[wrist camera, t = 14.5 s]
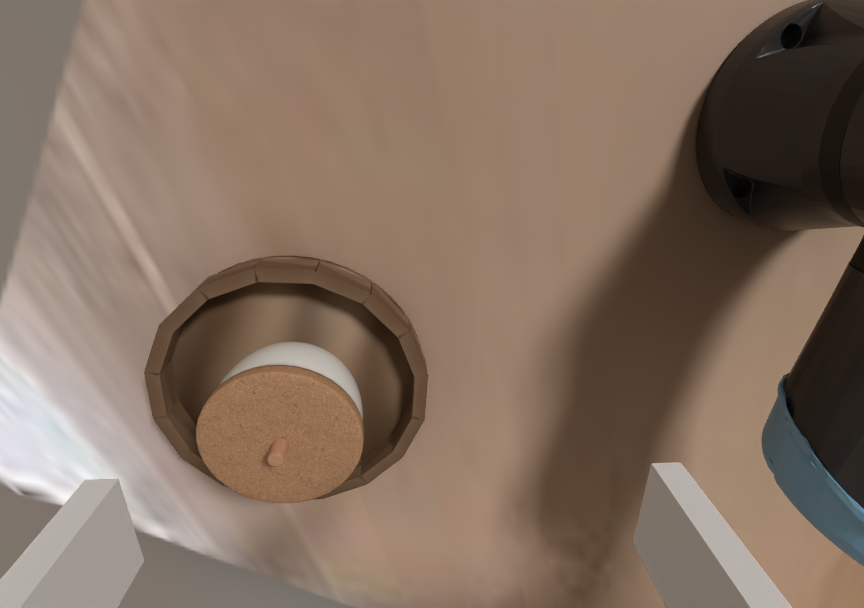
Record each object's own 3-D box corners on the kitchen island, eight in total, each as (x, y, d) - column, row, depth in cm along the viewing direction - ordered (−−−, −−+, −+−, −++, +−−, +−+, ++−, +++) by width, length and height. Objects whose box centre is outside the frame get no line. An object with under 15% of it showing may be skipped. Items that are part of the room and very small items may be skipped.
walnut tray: (432, 261, 36) (435, 274, 33) (416, 472, 44) (418, 497, 41) (144, 249, 34) (123, 263, 31) (183, 474, 42) (169, 501, 39)
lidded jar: (342, 447, 41) (330, 538, 32) (216, 412, 39) (167, 502, 30) (387, 344, 38) (387, 417, 29) (251, 299, 35) (207, 364, 26)
